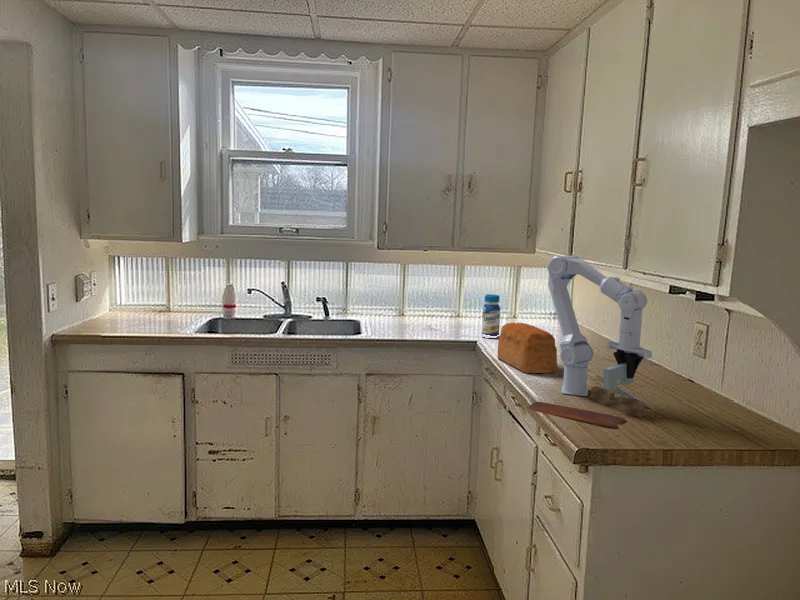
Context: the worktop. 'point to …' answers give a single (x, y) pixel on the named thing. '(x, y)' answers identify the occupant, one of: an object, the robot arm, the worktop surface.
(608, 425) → the wooden tablet
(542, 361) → the bread
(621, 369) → the grey notched plate
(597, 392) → the walnut slotted rail
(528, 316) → the worktop surface
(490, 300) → the beverage bottle
